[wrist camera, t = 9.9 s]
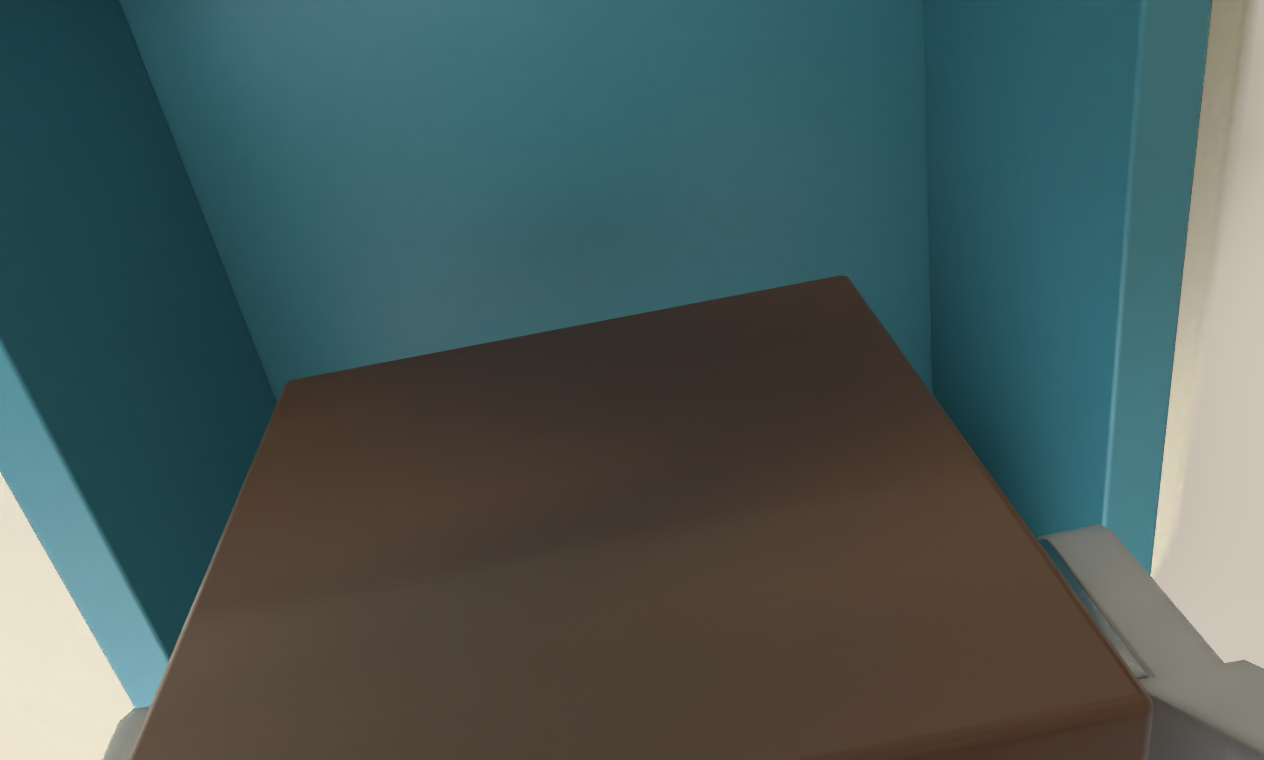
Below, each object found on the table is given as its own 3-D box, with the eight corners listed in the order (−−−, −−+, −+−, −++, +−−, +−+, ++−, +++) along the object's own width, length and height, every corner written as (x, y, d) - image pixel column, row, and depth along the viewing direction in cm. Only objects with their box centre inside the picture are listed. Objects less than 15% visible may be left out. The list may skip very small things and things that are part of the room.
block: (847, 269, 9) (1162, 701, 5) (874, 681, 11) (1095, 1219, 7) (283, 377, 9) (54, 914, 5) (431, 766, 11) (375, 1360, 7)
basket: (952, -328, 16) (1262, -438, 9) (959, 452, 23) (1137, 710, 16) (21, -151, 16) (-347, -130, 9) (318, 574, 23) (234, 884, 16)
